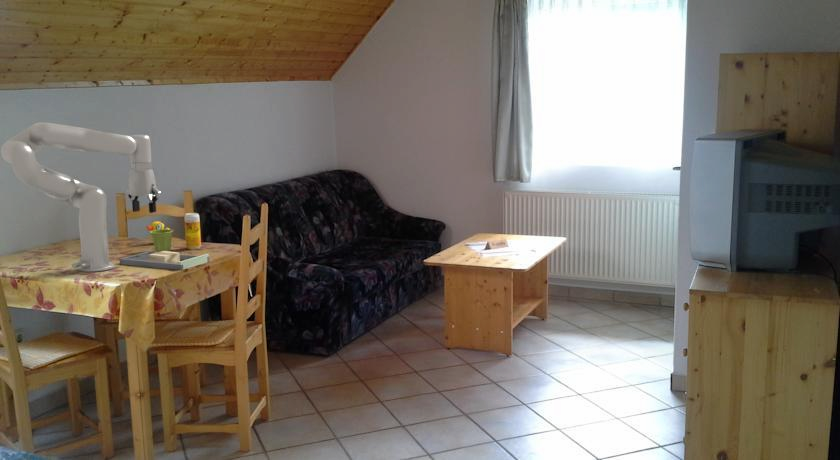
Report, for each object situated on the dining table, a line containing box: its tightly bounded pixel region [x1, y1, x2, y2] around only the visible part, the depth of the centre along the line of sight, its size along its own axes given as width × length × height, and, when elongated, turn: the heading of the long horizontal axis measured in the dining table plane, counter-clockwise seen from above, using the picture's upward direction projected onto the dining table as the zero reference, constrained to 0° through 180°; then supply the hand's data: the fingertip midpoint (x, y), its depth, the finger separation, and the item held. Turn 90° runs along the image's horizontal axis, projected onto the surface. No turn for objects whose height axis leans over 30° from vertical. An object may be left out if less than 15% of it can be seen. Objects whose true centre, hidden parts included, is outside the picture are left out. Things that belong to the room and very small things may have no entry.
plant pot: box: [149, 228, 174, 252], centre depth 322 cm, size 9×9×9 cm
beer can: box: [184, 212, 202, 250], centre depth 328 cm, size 6×6×15 cm
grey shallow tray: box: [119, 250, 210, 271], centre depth 300 cm, size 16×30×3 cm, turn 67°
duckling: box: [146, 221, 170, 242], centre depth 340 cm, size 11×5×10 cm, turn 140°
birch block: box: [148, 250, 181, 264], centre depth 300 cm, size 8×8×4 cm
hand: (144, 211), depth 300 cm, fingers open, 7 cm apart
